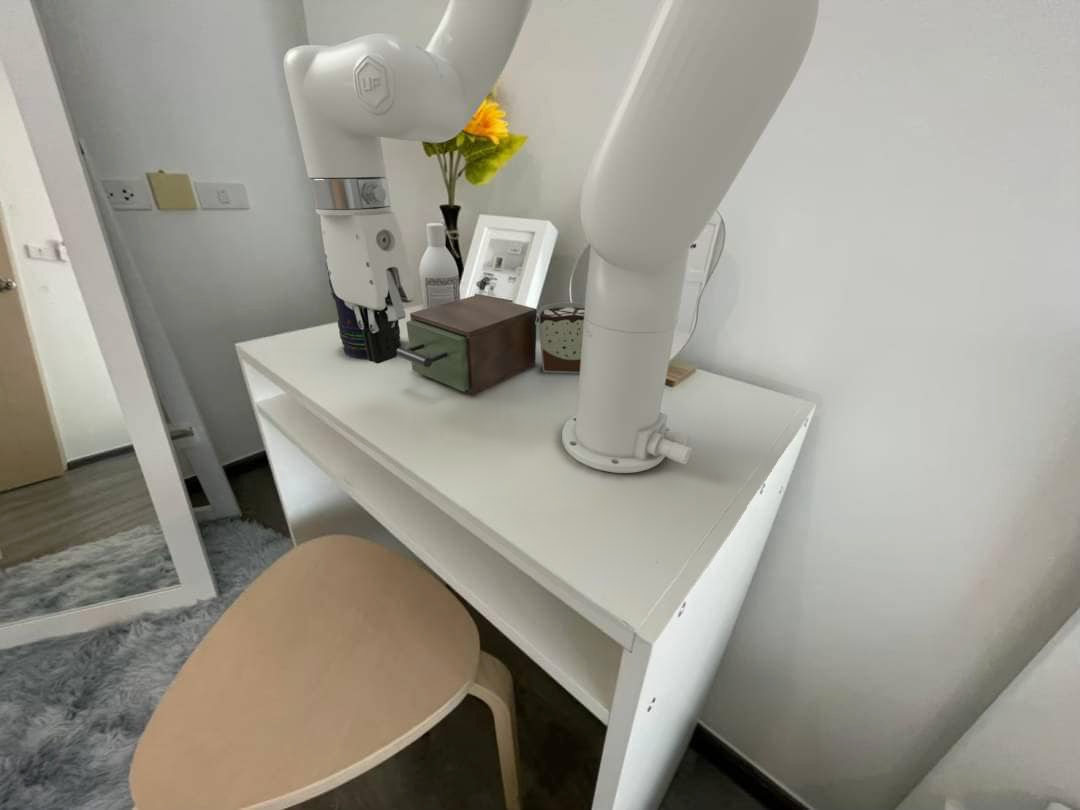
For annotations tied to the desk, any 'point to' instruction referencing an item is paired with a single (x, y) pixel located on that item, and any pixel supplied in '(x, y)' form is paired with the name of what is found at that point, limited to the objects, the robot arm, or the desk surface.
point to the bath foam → (438, 270)
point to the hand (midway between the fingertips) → (383, 358)
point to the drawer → (437, 354)
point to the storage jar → (354, 329)
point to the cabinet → (488, 336)
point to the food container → (561, 336)
